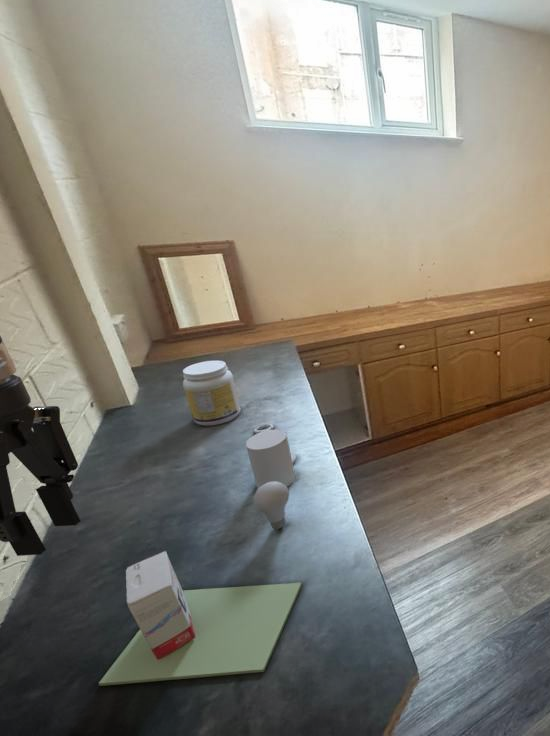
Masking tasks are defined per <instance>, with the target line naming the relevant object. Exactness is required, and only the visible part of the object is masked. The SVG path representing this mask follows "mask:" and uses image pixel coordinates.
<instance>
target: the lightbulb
mask: <svg viewBox="0 0 550 736" xmlns="http://www.w3.org/2000/svg"><path fill="white" fill-rule="evenodd" d="M289 497H290V491H289V488H288V487H286V486H285V485H284V484H283V483H281V482H277V481H272V482H268V483H265V484H264V485H262V486H261V487H260V488H259V489H257V490H256V491H255V493H254V496H253V505H254V507H255V508H256V510H258V511H259V512H260V513H261V514H264V515H265V517H266V519H267V522H269V524H270V527H271V529H273V530H279V529H281V528H283V527H284V526H285V524H286V520H285V519H286V518H285V516H286V511H285V510H286V505H287V503H288V501H289Z"/></svg>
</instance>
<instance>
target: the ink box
mask: <svg viewBox="0 0 550 736" xmlns="http://www.w3.org/2000/svg"><path fill="white" fill-rule="evenodd" d="M125 581H126V583H125V584H126V585H125V588H126V604H127V608H128V609H129V611H130V613H131V615H132V617H133V618H134V620H135V622H136V624H137V626H138V628H139V630H141V631H142V633H143V635H144V637H145V639H146V641H147V643H148V644H149V646H150V648H151V650H152V652H153V654H154V655H155V657H156V659H161V658H163V657H164V656H166V655H168V654H169V653H171V652H173V651H175V650H176V649H178V648H179V647H181V646H182V645H184V644H186V643H187V642H189V641H190V640H192V639H193V638H195V632H194V628H193V624H192V620H191V615H190V611H189V606H188V602H187V600H186V597H185V595H184V593H183V588H182V585H181V583H180V581H179V579H178V576H177V574H176V572H175V570H174V567H173V565H172V563H171V560H170V558H169V555H168V553H167V551H166V550H164V551H162V552H159V553H157V554H154V555H152V556H149V557H147V558H145V559H143V560H140V561H138V562H136V563H134V564H131V565H130V566H126V569H125Z"/></svg>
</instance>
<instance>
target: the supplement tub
mask: <svg viewBox="0 0 550 736" xmlns="http://www.w3.org/2000/svg"><path fill="white" fill-rule="evenodd" d="M182 373H183V378H184V379H183V381H182V387H183V390H184V394H185V397H186V400H187V404H188V407H189V409H190V413H191V416H192V419H193V421H194V423H195V424H197V425H200V426H205V427H207V426H218V425H221V424H225V423H228V422H230V421H232V420H234V419H235V418H237V417H238V416H239V415H240V414H241V412H242V406H241V402H240V398H239V395H238V391H237V386H236V383H235V378H234V375H233V373H232V372H231V371H230V370H229V368H228V366H227V363H226V362H225V361H223V360H205V361H200V362H196V363H193V364H191V365H188V366H186V367H185V368H183V369H182Z"/></svg>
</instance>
